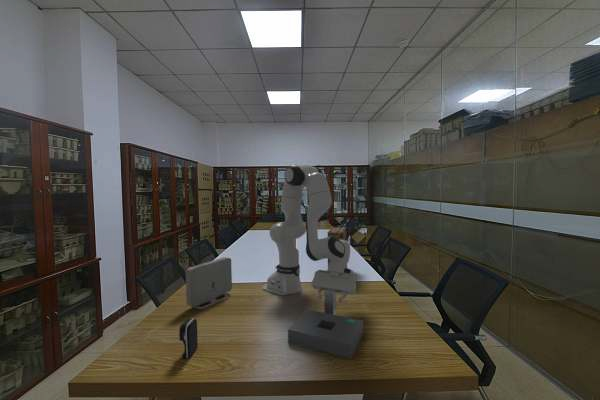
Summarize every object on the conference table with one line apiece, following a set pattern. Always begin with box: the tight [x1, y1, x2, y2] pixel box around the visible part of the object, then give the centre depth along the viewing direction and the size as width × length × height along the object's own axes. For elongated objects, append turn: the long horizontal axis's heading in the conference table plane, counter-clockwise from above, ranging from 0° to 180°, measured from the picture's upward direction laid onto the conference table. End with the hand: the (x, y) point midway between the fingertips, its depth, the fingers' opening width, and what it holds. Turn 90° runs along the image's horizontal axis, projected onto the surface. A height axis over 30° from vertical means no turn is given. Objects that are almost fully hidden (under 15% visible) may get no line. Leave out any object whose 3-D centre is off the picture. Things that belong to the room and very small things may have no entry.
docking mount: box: [287, 309, 364, 360], centre depth 105 cm, size 24×18×5 cm
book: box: [327, 226, 347, 267], centre depth 179 cm, size 25×9×30 cm, turn 166°
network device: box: [185, 256, 233, 310], centre depth 140 cm, size 26×9×20 cm, turn 148°
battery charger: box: [178, 318, 199, 359], centre depth 96 cm, size 7×4×11 cm, turn 177°
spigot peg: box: [323, 289, 337, 315], centre depth 121 cm, size 4×4×12 cm
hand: (329, 300), depth 120 cm, fingers open, 8 cm apart
